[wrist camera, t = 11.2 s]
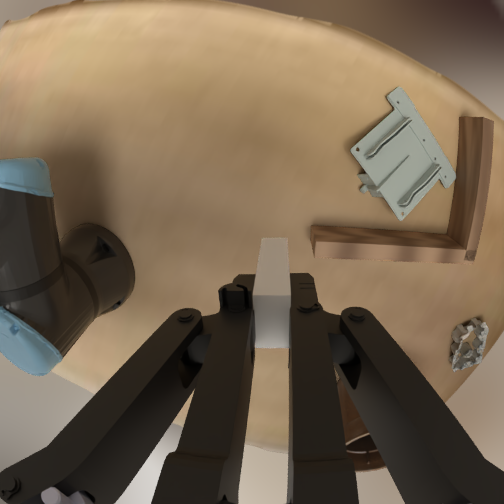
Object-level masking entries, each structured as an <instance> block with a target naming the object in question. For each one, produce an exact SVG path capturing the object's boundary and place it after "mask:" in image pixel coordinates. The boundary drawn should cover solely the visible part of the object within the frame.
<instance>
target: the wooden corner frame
mask: <svg viewBox="0 0 504 504" xmlns="http://www.w3.org/2000/svg"><path fill="white" fill-rule="evenodd" d="M493 129H494V121H492V120H489V119H487V118H484V117H459V144H458V158H457V170H456V179H455V187H454V195H453V202H452V208H451V214H450V220H449V225H448V230H447V235H446V234H434V233H422V232H409V231H395V230H381V229H365V228H349V227H331V226H312V225H311V239H310V240H311V244H312V249H313V253H314V258H333V259H356V260H380V261H404V262H429V263H454V264H473V263H474V259H475V255H476V252H477V248H478V243H479V239H480V235H481V230H482V225H483V220H484V215H485V209H486V203H487V197H488V190H489V183H490V174H491V164H492V151H493Z"/></svg>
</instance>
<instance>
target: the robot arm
mask: <svg viewBox="0 0 504 504" xmlns="http://www.w3.org/2000/svg"><path fill="white" fill-rule="evenodd" d="M53 197H54V193H53V192H52V188H51V181H50V174H49V168H48V165H47V163H46V162H45V161H44V160H43V159H41V158H37V157H29V158H14V159H3V160H0V352H1V353H2V354H3V355H4V356H5V357H6V358H7V359H8V360H10V361H11V362H12V363H13V364H14V365H15V366H17V367H18V368H20V369H21V370H23V371H25V372H27V373H29V374H32V375H35V376H43V375H46V374H47V373H49V372H50V371H51V370H52V369H53V368H54V366H55V365H56V364H57V363H59V362H61V361H62V359H63V357H64V356H65V355H66V354H67V352H68V351H69V350H70V349H71V347H72V346H73V345H74V344H75V342H76V341H77V340H78V339H79V337H80V336H81V335H82V334H83V332H84V331H85V330H86V329H87V328H88V326H89V325H90V324H91V323H92V322H93V321H94V319H95V318H97V317H99V316H101V315H104V314H106V313H108V312H111V311H113V310H115V309H117V308H118V307H120V306H121V305H122V304H123V303H124V302H125V301H126V299H127V298H128V297H129V296H130V294H131V292H132V290H133V287H134V281H135V275H134V268H133V264H132V261H131V258H130V256H129V254H128V252H127V250H126V249H125V247H124V246H123V244H122V243H121V242H120V240H119V239H118V238H117V237H116V236H115V235H114V234H112V233H111V232H110V231H108V230H107V229H105V228H103V227H101V226H98V225H95V224H83V225H80V226H78V227H76V228H74V229H72V230H71V231H69V232H68V233H67V234H65V236H64V237H63V238H62V240H61V241H60V243H59V238H58V232H57V226H56V219H55V213H54V204H53ZM218 292H219V301H220V311H219V312H218V313H216V314H213V315H208V316H202V315H201V312H200V311H198V310H196V309H193V308H185V309H180V310H178V311H176V312H174V313H173V314H172V315H171V316H170V317H169V318H168V319H167V320H166V321H165V322H164V323H163V324H162V325H161V326H160V327H159V328H158V329H157V330H156V331H155V332H154V333H153V334H152V335H151V336H150V337H149V338H148V340H147V341H146V342H145V343H144V344H143V345H142V346H141V347H140V348H139V349H138V350H137V351H136V352H135V353H134V354H133V355H132V356H131V357H130V358H129V359H128V360H127V361H126V363H125V364H124V365H123V366H122V367H121V368H120V369H119V370H118V371H117V372H116V373H115V374H114V375H113V376H112V377H111V378H110V379H109V380H108V382H107V383H106V384H105V385H104V386H103V387H102V388H101V389H100V390H99V391H98V392H97V393H96V394H95V395H94V396H93V398H92V399H91V400H90V401H89V402H88V403H87V404H86V405H85V406H84V407H83V408H82V409H81V410H80V412H78V414H77V415H76V416H75V417H74V418H73V419H72V420H71V421H70V422H69V423H68V424H67V426H66V427H65V428H64V429H63V430H62V431H61V432H60V433H59V434H58V435H57V436H56V437H55V438H54V440H53V441H52V442H51V443H50V444H49V445H48V446H47V447H45V448H43V449H42V450H40V451H38V452H36V453H34V454H32V455H31V456H29V457H27V458H25V459H23V460H21V461H19V462H18V463H16V464H14V465H12V466H10V467H8V468H6V469H4V470H3V471H2V472H1V473H0V497H1V499H3V500H4V501H5V502H6V503H8V504H114V503H115V502H116V501H117V500H118V499H119V497H120V496H121V495H122V494H123V492H124V491H125V490H126V488H127V487H128V485H129V484H130V483H131V481H132V480H133V478H134V477H135V476H136V474H137V473H138V471H139V469H140V468H141V467H142V466H143V464H144V463H145V461H146V460H147V458H148V457H149V456H150V454H151V453H152V451H153V450H154V448H155V447H156V445H157V444H158V442H159V441H160V439H161V438H162V437H163V435H164V433H165V432H166V430H167V429H168V428H169V426H170V425H171V423H172V422H173V420H174V419H175V417H176V416H177V414H178V413H179V411H180V410H181V408H182V407H183V405H184V404H185V402H186V401H187V399H188V398H189V396H190V395H191V393H192V392H193V390H194V389H195V391H194V394H193V397H192V401H191V404H190V407H189V410H188V414H187V417H186V420H185V424H184V427H183V430H182V434H181V437H180V440H179V444H178V447H177V449H176V451H175V452H171V453H169V454H168V455H167V456H166V459H165V461H164V464H163V467H162V470H161V473H160V477H159V480H158V483H157V486H156V490H155V493H154V496H153V499H152V502H151V504H238V490H239V482H240V474H241V467H242V459H243V451H244V443H245V436H246V428H247V419H248V411H249V403H250V395H251V386H252V378H253V369H254V360H255V348H289V364H288V368H289V453H288V456H289V457H288V489H287V504H359V500H358V490H357V481H356V472H355V466H354V462H353V460H352V459H351V458H349V457H348V455H347V449H346V442H345V434H344V427H343V420H342V413H341V407H340V400H339V394H338V388H337V382H336V376H335V370H334V367H335V369H336V371H337V373H338V375H339V377H340V379H341V381H342V382H343V384H344V386H345V388H346V390H347V392H348V394H349V396H350V397H351V399H352V401H353V403H354V405H355V407H356V409H357V411H358V413H359V415H360V416H361V418H362V420H363V422H364V424H365V426H366V428H367V430H368V432H369V434H370V436H371V437H372V439H373V441H374V443H375V445H376V447H377V449H378V451H379V453H380V455H381V457H382V459H383V461H384V463H385V465H386V467H387V469H388V471H389V472H390V475H391V476H392V478H393V480H394V482H395V484H396V486H397V488H398V490H399V492H400V494H401V496H402V498H403V500H404V502H405V504H504V471H502V470H501V469H499V468H498V467H496V466H495V465H493V464H492V463H490V462H489V461H487V460H486V459H485V458H484V457H483V455H482V454H481V452H480V451H479V450H478V448H477V447H476V446H475V444H474V443H473V441H472V440H471V438H470V437H469V435H468V434H467V433H466V431H465V430H464V429H463V427H462V426H461V424H460V423H459V422H458V420H457V419H456V418H455V416H454V415H453V414H452V412H451V411H450V410H449V408H448V407H447V406H446V405H445V403H444V402H443V400H442V399H441V398H440V396H439V395H438V394H437V393H436V391H435V390H434V389H433V387H432V386H431V385H430V384H429V382H428V381H427V380H426V378H425V377H424V376H423V375H422V373H421V372H420V371H419V370H418V368H417V367H416V366H415V365H414V363H413V362H412V361H411V360H410V359H409V357H408V356H407V355H406V354H405V352H404V351H403V350H402V349H401V348H400V346H399V345H398V344H397V343H396V341H395V340H394V339H393V338H392V337H391V335H390V334H389V333H388V332H387V331H386V330H385V328H384V327H383V326H382V325H381V324H380V322H379V321H378V320H377V319H376V318H375V317H374V315H373V314H372V313H371V312H370V311H368V310H367V309H364V308H361V307H349V308H346V309H344V310H343V311H342V313H341V315H336V314H331V313H328V312H326V311H324V310H323V307H322V306H321V304H320V303H318V298H317V293H316V289H315V283H314V278H313V277H312V276H311V275H310V274H309V273H290V271H289V256H288V242H287V238H262V240H261V246H260V252H259V258H258V265H257V271H256V274H239V275H238V276H237V277H236V278H234V280H233V283H230V284H227V285H224V286H222V287H221V288H220V289H219V290H218Z"/></svg>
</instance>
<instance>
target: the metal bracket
mask: <svg viewBox="0 0 504 504" xmlns="http://www.w3.org/2000/svg"><path fill="white" fill-rule="evenodd" d="M387 99H388V101H389V102H390V103H391V105H392V106H393V107H394V111H393V112H392V113H390V114H389V115H388V116H387V117H386V118H385V119H384V120H383V121H381V122H380V123H379V124H378V125H377V126H376V127H375V128H374V129H372V130H371V131H370V132H369V133H368V134H367V135H366V136H365V137H363V138H362V139H361V140H360V141H359V142H358V143H357V144H356V145H355V146H353V147H352V148H351V150H350V151H351V153H352V154H353V156H354V157H355V158H356V160H357V161H358V162H359V164H360V165H361V166H362V168H363V169H364V170H365V172H366V174H357V176H358V177H359V179H361V181H362V183H363V184H364V185H363V186H362V188H360V191H361V192H362V193H365V192H366V191H367V190H368V191H370V194H371V195H372V197H384V199H385V200H386V201H387V203H388V204H389V206H390V207H391V209H392V211H393V212H394V214H395V215H396V217H397V218H398V220H399V221H402V220H403V219H404V218H405V217H406V216H407V215H408V214H409V212H410V211H411V210H412V209H413V208H414V207H415V206H416V205H417V204H418V202H419V201H420V200H421V199H422V198H423V197H424V196H425V195H426V193H427V192H428V191H429V190H430V189H431V188H432V187H433V185H434V184H435V183H436V182H437V181H438V180H439V179H440V180H441V182H442V184H443V186H444V187H445V188H448V187H449V186H450V185H451V184H452V183H453V181H454V180H455V179H456V174H455V172H454V170H453V168H452V166H451V164H450V162H449V160H448V159H447V157H446V156H445V155H444V153H443V151H442V149H441V148H440V146H439V144H438V143H437V141H436V139H435V138H434V136H433V134H432V133H431V131H430V130H429V128H428V127H427V125H426V123H425V122H424V120H423V119H422V117H421V116H420V114H419V113H418V111H417V110H416V109H415V105H414V104H413V102H412V101H411V100H410V98H409V97H408V95H407V94H406V93H405V91H404V90H403V89H402V88H401V87H397V88H396V89H394V90H393V91H392V92H391V93H390V94H388V95H387ZM397 101H398V103H397ZM423 139H424V141H423ZM357 147H358V148H359V151H358V152H357V151H356V148H357ZM434 158H435V159H436V160H435V159H434ZM445 176H446V178H445ZM402 212H403V213H404V215H403V216H402V215H401V213H402Z"/></svg>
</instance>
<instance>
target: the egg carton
mask: <svg viewBox="0 0 504 504" xmlns="http://www.w3.org/2000/svg"><path fill="white" fill-rule="evenodd" d="M473 330H474V333H475V334H476V335H477V337H476V338H475V339H474V340H473V343H472V344H473V346H474V348H475V349H474V350H473V351H472V349H471V347H470V346H469V344H468V343H463V344H462V341H463V340H464V339H466V338H467V337H468V336H469V334H470V332H472V331H473ZM488 331H489V329H488V327H487V325H486V323H485V322H484V323H483V324H482V323H481V321H480V320H477V319H476V318H473V319H471V321H470V323H469V324H468V325H467V326H465V327H463V325H462V324H460V325H457V327H456V329H455V330H454V331H453V332H452V339H453V340H454V341H455V342H454V343H453V344H452V345H451V349H452V352H453V355H452V356H450V358H449V360H450V361H451V363H452V369H453V372H456V370H458V369H460V370H463V369H464V368H468V367H470V366H473V365H474V364H479V363H481V362H482V352H483V351H484V350H483V349H484V348H485V342H486V337H487V334H488ZM459 351H460V352H459ZM459 353H461V354H462V355H461V356H460V357H459V356H458V354H459Z"/></svg>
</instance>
